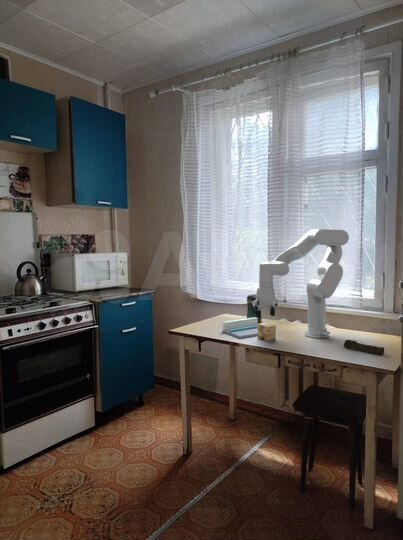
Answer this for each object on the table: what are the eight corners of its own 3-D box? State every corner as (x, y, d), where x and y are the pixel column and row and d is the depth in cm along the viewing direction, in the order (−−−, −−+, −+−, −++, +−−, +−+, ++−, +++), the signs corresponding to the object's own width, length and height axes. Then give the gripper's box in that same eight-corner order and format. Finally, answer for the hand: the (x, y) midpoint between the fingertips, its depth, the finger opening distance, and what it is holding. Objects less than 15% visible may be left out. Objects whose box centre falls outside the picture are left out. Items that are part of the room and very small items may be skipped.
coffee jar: (254, 325, 243) (253, 296, 242) (244, 323, 249) (244, 294, 248) (264, 322, 250) (263, 294, 248) (254, 320, 256) (254, 293, 254)
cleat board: (274, 332, 223) (274, 322, 223) (240, 338, 211) (239, 328, 211) (255, 326, 239) (255, 317, 238) (222, 332, 227) (222, 322, 227)
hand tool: (385, 354, 180) (385, 345, 180) (381, 356, 178) (381, 346, 177) (346, 347, 194) (346, 337, 194) (342, 348, 192) (342, 339, 191)
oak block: (275, 340, 208) (275, 325, 208) (266, 341, 205) (266, 326, 205) (266, 336, 215) (266, 322, 215) (257, 338, 212) (257, 324, 212)
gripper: (274, 283, 215) (273, 314, 217) (248, 285, 207) (248, 316, 208) (283, 285, 209) (282, 316, 210) (257, 286, 200) (256, 319, 202)
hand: (265, 316), depth 209 cm, fingers open, 9 cm apart
